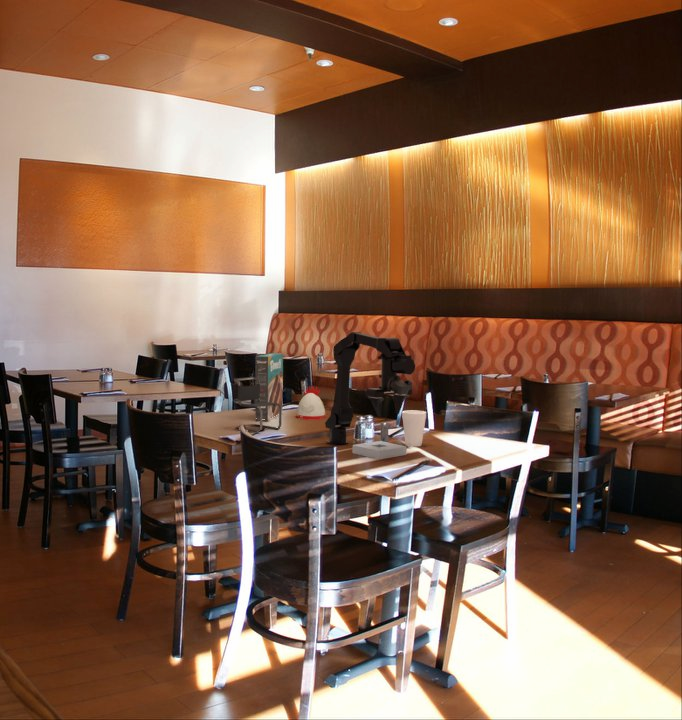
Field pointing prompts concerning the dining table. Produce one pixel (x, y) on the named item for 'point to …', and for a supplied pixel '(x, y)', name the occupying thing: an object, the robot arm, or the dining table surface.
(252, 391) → the chair
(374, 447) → the socket block
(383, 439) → the pin
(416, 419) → the foam cup
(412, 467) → the dining table surface
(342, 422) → the robot arm
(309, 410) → the kitchen timer
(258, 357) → the cake mix box
